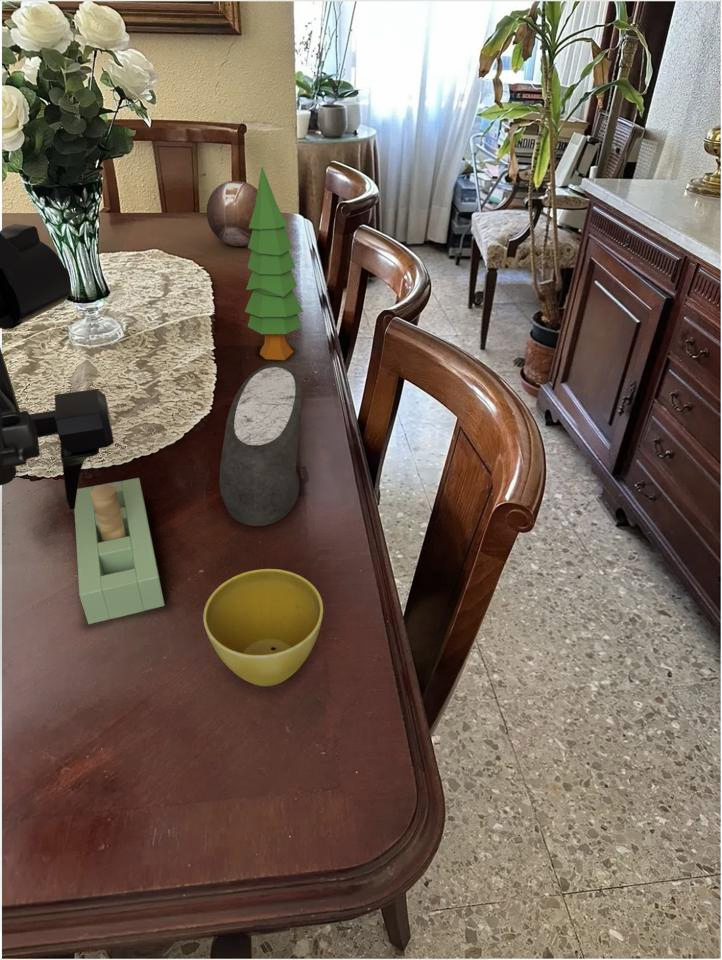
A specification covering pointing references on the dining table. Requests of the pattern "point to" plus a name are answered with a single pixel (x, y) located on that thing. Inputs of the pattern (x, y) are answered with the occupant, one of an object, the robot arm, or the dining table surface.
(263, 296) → the decorative tree
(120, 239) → the dining table surface
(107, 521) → the peg
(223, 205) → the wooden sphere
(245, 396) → the grey stone cylinder
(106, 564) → the peg board
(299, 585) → the flower pot
